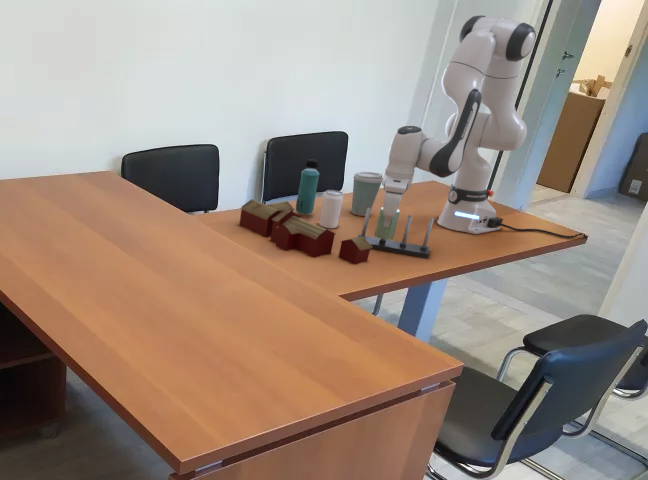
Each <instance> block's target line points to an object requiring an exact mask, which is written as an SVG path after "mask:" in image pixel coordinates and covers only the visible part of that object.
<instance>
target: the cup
mask: <svg viewBox="0 0 648 480" xmlns="http://www.w3.org/2000/svg"><path fill="white" fill-rule="evenodd" d="M400 212H401V210H400V209H399V208H398V209H397V212H396V214H395V216H394V217H393V218H391V221H390V225H389V227H384V226H383V225H384V220H385V216H383V206H382V207H380V209H379V213H378V218H377V220H376V225H375V230H374V237H375V238H380V239H386V240H393V239H394V238H395V233H396V230H397V225H398V222H399V218H400V214H401V213H400Z"/></svg>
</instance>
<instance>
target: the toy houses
mask: <svg viewBox="0 0 648 480" xmlns="http://www.w3.org/2000/svg"><path fill="white" fill-rule="evenodd" d="M239 209H241V210H240V217H239V226H240V227H243V228H244V229H247V230H249V231H251V232H253V233H255V234H257V235H260V236H262V237H264V238H269V237H270V242H272V243H275V247H277V248H279V249H281V250H284V251H286V252H287V251H291V250H297V251H299V252H301V253H303V254H306V255H308V256H310V257H312V258H317V257H322V256H326V255H331V254H332V251H333V246H334V240H335V236H336V233H335V232H333V231H331V230H330V229H328V228H323V227H321V226H320V225H318V224H315V223H313V222H310V221H308V220H305V219H303V218H302V216H301V215H299V213H297V212H296V213H295V212H294V211H296V208H295V207H294V206H292V204H291V203H290V202H289V201H287V200H285V201H280V202H275V203H269V204H264V203H262V202H259V201H257V200H254V199H250V200H248V201H247V202H246V203H244V204H243V205H242V206H241V207H240V208H239ZM357 237H358V236H357ZM357 237H352V238H347V239H343V240H339V242H340V248H339V252H338V258H339V259H342V260H344V261H346V262H348V263H350V264H352V265H357V264H361V263H365V262H368V260H369V255H370V251H371V247H372V246H371V245H370V244H369V242H368V241H367V240H366V239H365V238H364V237H358V238H357ZM372 248H373V247H372Z"/></svg>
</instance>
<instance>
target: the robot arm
mask: <svg viewBox="0 0 648 480" xmlns="http://www.w3.org/2000/svg"><path fill="white" fill-rule="evenodd" d="M536 36H537V34H536V30H535V27H534V26H532V25H531V24H529V23H526V22H520V21H517V20H514V19H511V18H506V17H502V18H501V17H494V16H486V15H474V16H472V17H470V18H469V19H468V20H466V22H464V24H463V26H462V27H461V30H460V33H459V36H458V43H459V45H458V46H457V48H456V50H455V51H454V53H453V55H452V56H451V58H450V60H449V62H448V64H447V66H446V67H445V69H444V72H443V74H442V77H441V81H440V82H441V88H442V92H443V93H444V94H445V95H446V97H447V98H448V99H450V101H452V103H454V105H455V106H456V112H454V113H453V114H452V115H450V117H449V118H448V119H447V121H446V124H445V128H444V132H445V136H446V138H447V140H445V141H444V140H439V139H436V138H434V137H432V136H431V137H430V136H428V135H427V134H425V133H424V132H423V129H422V128H421V127H419V126H416V125H403V126H401V127H399V128H397V130H396V131H395V133H394V134H393V137H392V140H391V143H390V146H389V149H388V155H387V156H388V159H387V164H386V166H385V168H384V171H383V172H384V173H383V175H382V178H383V180H382V183H381V185H382V186H383V191H384V199H383V206H382V207H383V216H385V220H384V225H383V226H384V227H389V225H390V221H391V218H393V217H394V216H395V214H396V212H397V209H398V210H399V206H400V204H401V201H402V198H403V196H404V195H405V194H406V193H407V191H408V190H410V189H411V187H412V183H413V179H414V175H415V169H419V170H421V171H425V172H428V173H431V174H432V175H434V176H436V177H438V178H441V179H442V178H443V179H445V178H447V177H450V176H452V175H453V174H454V177H453V181H452V183H451V184H450V187H449V190H448V197H447V198H446V202H445V204H444V206H443V209H442V210H441V211H442V212H441V213H440V214H439V217H438V219H437V221H436V223H437V224H438V225H439V226H441V227H442V228H446V229H448V230H452V231H458V232H463V233H468V234H473V235H478V234H484V233H489V232H494V231H500V230H501V227H503V228H506V229H510V230H513V231H517V232H540V233H544V234H548V235H552V236H555V237H558V238H559V237H560V238H566V239H573V238H576V237H579V236H582V237H584V238H585V239H588V236H587V235H586V234H585V233H583V232H579V233H580V234H579V233H577V234H578V235H579V236H578V235H577V234H574V235H575V236H573V235H565V234H560V233H556V232H553V231H549V230H545V229H540V228H517V227H514V226H511V225H507V224H505V223H503V221H504V218H502V217H499V216H497V211H496V209H495V208H494V207H493V206H492V204H491V203H489V201H488V200H487V198H488V197H490V198H492V197H493V196H494V194H495V191H493V190H491V189H488V190H487V185H488V182H489V179H490V175H491V173H492V167H491V166H492V165H491V164H490V163H489V162H488V160H487V159H485V158H484V157H482V156H481V154H480V153H479V149H480V148H481V149H487V150H492V151H494V150H495V151H501V152H502V151H503V152H507V151H508V152H510V151H515V150H518V149H519V148H520V147H521V146H522V145H523V144H524V142H525V141H526V139H527V136H528V127H527V123H526V122H525V121H524V120H523V119H522V118H521V116H520V115H519V113H518V112H517V109H516V106H515V92H516V87H517V82H518V79H519V76H520V72H521V68H522V63H523V59H525V58H527V57H528V55H530V53H531V51H532V49H533V47H534V45H535V43H536V38H537V37H536ZM481 104H483V105H484V106H486V107H487V108H488V110H489V111H490V113H488V112H487V113H486V112H481V111H480V112H479V110H480V107H481ZM582 234H584V235H582ZM585 235H586V236H585Z"/></svg>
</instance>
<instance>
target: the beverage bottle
mask: <svg viewBox="0 0 648 480" xmlns="http://www.w3.org/2000/svg"><path fill="white" fill-rule="evenodd" d="M318 166H319V161H318V160H317V159H313V158H312V159H311V158H309V159H307V160H306V162H305V167H307V168H305V169H303V170H302V171H301V176H300V180H299V187H298V192H297V193H298V194H297V197H296V203H295V212H296V213H297V214H301V215H311V214H313V212H314V208H315V201H316V196H317V189H318V183H319V177H320V172H319V171H318V170H317V169H316V168H319V167H318Z"/></svg>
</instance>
